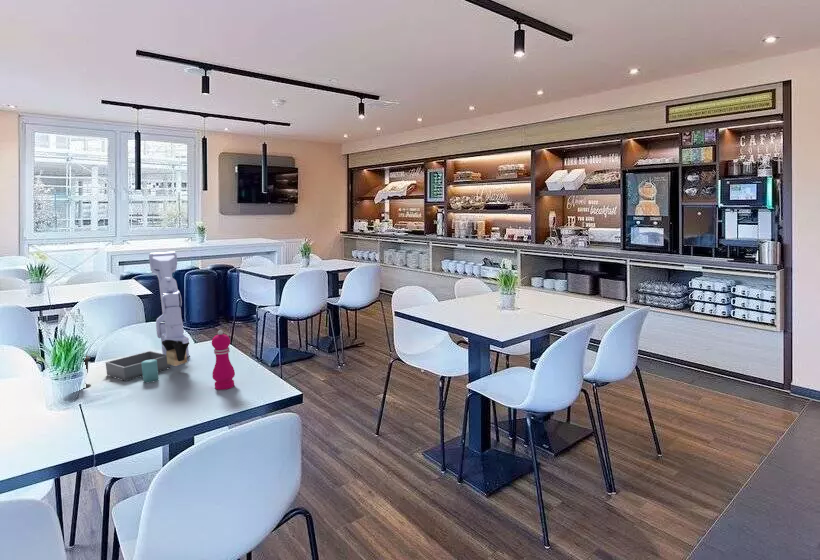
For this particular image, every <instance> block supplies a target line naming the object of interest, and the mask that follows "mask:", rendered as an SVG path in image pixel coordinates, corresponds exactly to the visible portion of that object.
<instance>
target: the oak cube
mask: <svg viewBox="0 0 820 560" xmlns="http://www.w3.org/2000/svg"><path fill="white" fill-rule="evenodd" d="M166 356H167V364H169V365H170V366H174V367H177V366H180V365H183V364H186V363H188V357H187V354H186V353H185V358H184V360H183V361H178V359H177V354H176V351H175V349H172V350H169V351H166Z"/></svg>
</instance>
